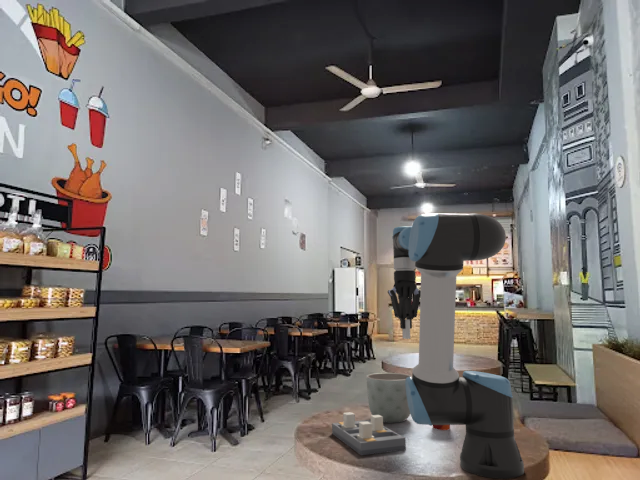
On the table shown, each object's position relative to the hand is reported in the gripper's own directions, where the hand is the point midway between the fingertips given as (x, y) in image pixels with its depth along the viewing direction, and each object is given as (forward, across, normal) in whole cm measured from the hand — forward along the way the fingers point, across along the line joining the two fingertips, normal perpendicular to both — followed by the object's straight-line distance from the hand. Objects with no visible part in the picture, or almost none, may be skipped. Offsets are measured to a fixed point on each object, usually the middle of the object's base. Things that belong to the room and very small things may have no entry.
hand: (406, 338), depth 154 cm
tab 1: (+28, +23, +3) cm, 36 cm away
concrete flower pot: (+30, +1, -11) cm, 32 cm away
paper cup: (+30, -10, +4) cm, 32 cm away
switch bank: (+29, +20, +9) cm, 37 cm away
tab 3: (+28, +17, +9) cm, 34 cm away
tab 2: (+28, +23, +15) cm, 39 cm away
